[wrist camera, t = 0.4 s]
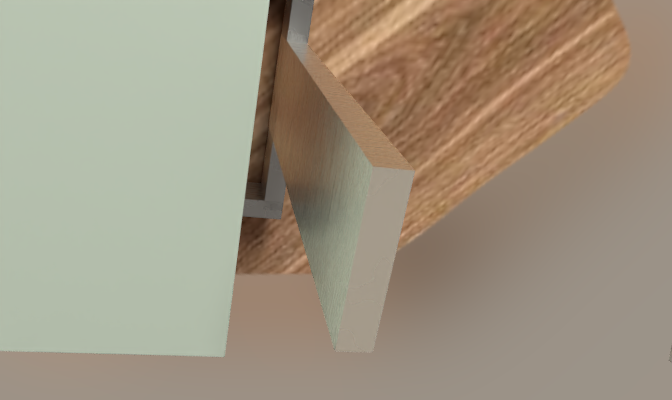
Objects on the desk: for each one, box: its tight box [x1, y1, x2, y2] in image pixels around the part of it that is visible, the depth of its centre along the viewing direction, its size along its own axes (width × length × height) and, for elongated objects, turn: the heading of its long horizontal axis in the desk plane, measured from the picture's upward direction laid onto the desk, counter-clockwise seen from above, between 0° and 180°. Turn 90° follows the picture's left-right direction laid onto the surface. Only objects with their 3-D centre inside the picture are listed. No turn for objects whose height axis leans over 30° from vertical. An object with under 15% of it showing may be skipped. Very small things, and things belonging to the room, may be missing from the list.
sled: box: [242, 0, 415, 352], centre depth 26 cm, size 24×16×24 cm
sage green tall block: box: [0, 0, 270, 357], centre depth 31 cm, size 10×20×15 cm, turn 170°
